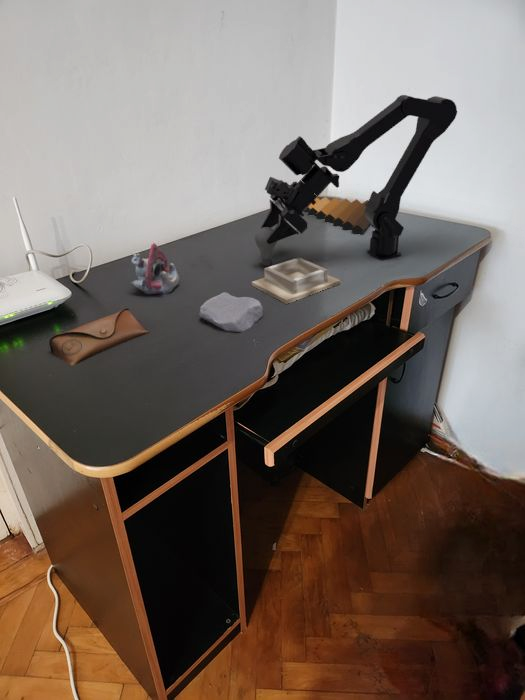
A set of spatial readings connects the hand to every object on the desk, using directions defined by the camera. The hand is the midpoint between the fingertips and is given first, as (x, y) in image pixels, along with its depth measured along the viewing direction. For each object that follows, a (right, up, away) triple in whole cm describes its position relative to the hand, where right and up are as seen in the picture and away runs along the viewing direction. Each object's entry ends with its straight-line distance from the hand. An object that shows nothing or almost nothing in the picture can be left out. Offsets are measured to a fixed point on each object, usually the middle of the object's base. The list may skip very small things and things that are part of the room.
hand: (264, 236), depth 131 cm
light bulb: (+1, -7, +4) cm, 8 cm away
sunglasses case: (-32, -27, -25) cm, 49 cm away
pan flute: (+22, +13, +36) cm, 44 cm away
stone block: (-7, -22, -20) cm, 30 cm away
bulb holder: (+7, -13, -7) cm, 16 cm away
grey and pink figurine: (-25, -13, -5) cm, 29 cm away
